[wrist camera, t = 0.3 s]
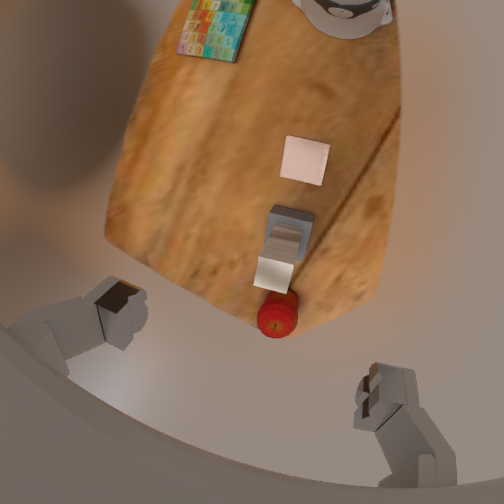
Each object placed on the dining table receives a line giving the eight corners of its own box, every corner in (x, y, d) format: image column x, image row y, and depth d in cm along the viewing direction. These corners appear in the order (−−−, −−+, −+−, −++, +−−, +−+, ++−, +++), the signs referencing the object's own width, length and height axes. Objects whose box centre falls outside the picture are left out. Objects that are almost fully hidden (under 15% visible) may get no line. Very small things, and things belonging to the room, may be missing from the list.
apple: (285, 318, 68) (276, 353, 58) (257, 298, 68) (244, 331, 57) (309, 297, 64) (304, 331, 54) (280, 275, 63) (269, 307, 53)
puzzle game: (173, 53, 43) (203, -31, 34) (184, 56, 48) (212, -22, 38) (230, 61, 42) (261, -27, 33) (238, 65, 47) (266, -18, 37)
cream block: (276, 222, 53) (258, 256, 41) (303, 228, 52) (293, 265, 40) (271, 246, 55) (253, 285, 43) (297, 252, 55) (286, 294, 42)
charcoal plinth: (274, 204, 57) (269, 212, 53) (314, 214, 56) (312, 223, 51) (267, 240, 61) (262, 251, 56) (305, 250, 59) (303, 261, 55)
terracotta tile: (287, 135, 50) (287, 135, 50) (330, 144, 49) (330, 144, 49) (280, 175, 54) (279, 176, 54) (321, 185, 53) (321, 185, 52)
